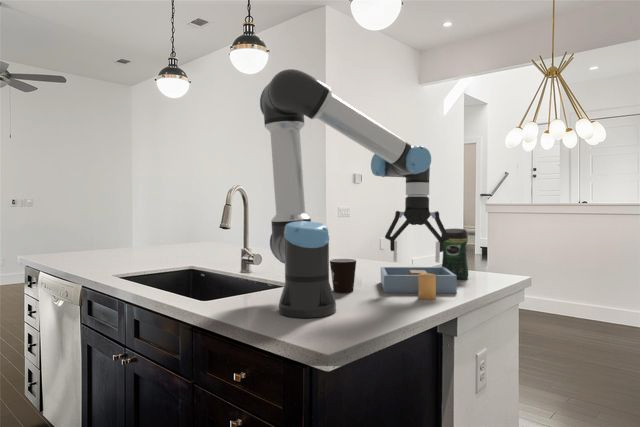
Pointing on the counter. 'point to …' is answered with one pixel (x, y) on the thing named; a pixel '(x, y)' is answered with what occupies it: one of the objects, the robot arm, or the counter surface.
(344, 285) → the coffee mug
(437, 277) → the tote
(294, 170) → the robot arm
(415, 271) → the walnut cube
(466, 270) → the coffee jar
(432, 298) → the orange cylinder
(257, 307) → the counter surface
